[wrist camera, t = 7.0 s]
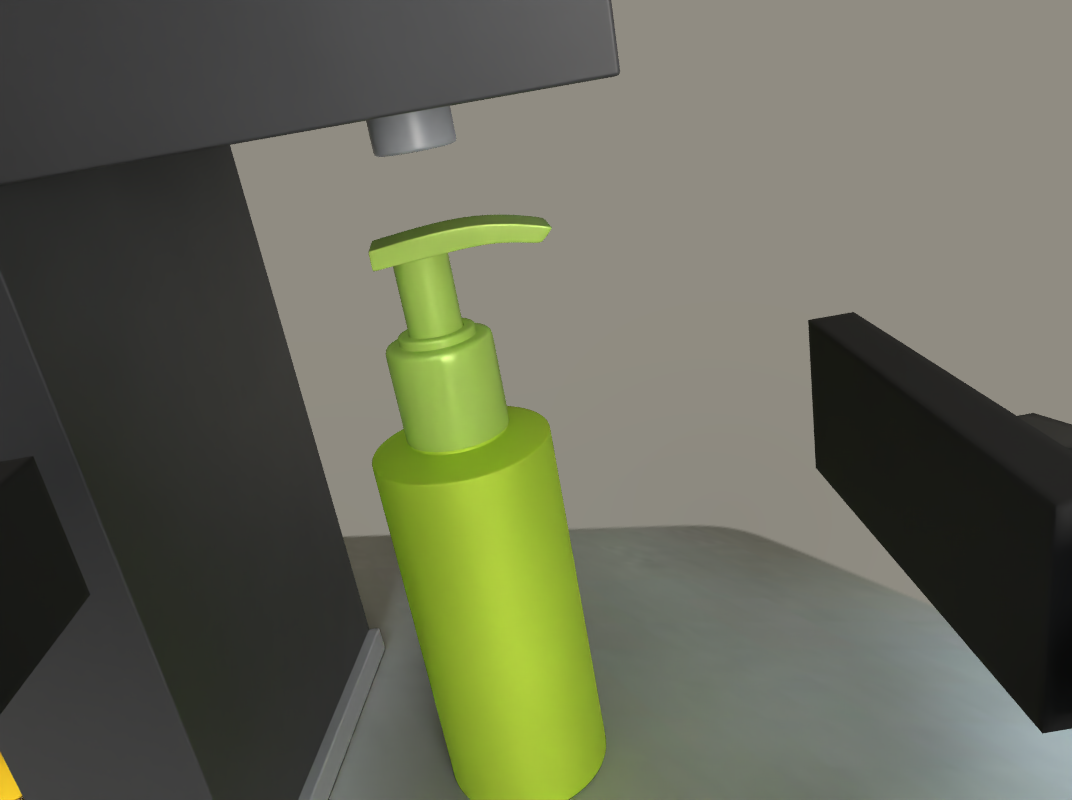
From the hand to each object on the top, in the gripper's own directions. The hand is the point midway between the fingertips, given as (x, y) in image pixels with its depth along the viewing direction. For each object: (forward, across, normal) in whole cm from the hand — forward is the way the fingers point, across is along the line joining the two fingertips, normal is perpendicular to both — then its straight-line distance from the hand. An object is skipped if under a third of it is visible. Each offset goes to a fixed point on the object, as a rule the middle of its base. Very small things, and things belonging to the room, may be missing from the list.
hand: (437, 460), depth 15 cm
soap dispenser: (+13, 0, -18) cm, 22 cm away
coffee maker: (+13, -5, -18) cm, 23 cm away
